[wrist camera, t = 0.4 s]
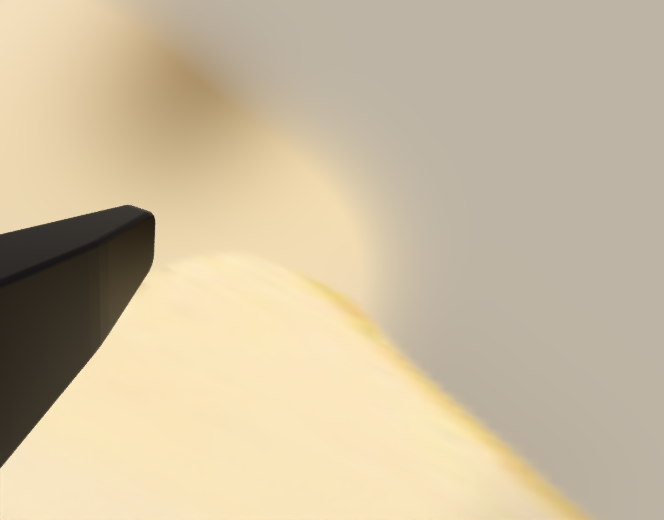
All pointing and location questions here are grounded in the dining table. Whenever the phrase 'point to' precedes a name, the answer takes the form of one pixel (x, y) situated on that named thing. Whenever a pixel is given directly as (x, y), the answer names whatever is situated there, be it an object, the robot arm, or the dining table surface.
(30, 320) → the robot arm
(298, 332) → the dining table surface
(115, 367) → the dining table surface
